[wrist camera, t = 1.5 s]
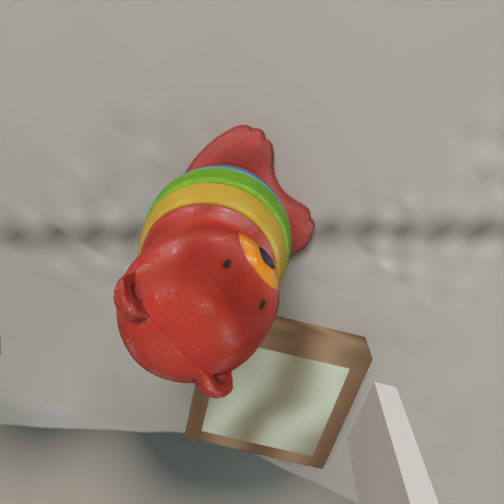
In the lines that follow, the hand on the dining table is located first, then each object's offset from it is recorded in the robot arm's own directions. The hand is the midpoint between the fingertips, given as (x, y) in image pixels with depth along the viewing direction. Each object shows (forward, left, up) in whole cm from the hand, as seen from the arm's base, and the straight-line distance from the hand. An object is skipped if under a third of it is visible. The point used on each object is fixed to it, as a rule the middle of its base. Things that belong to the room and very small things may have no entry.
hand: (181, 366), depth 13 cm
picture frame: (+7, -16, -19) cm, 26 cm away
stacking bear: (0, 0, -19) cm, 19 cm away
